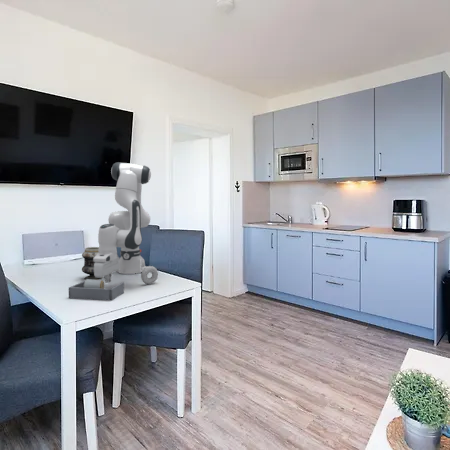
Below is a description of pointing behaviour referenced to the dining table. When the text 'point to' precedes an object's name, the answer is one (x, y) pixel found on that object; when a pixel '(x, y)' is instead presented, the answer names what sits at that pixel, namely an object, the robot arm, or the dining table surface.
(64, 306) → the dining table surface
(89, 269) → the apothecary jar
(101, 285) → the ceramic mug
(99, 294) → the box
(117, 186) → the robot arm
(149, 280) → the donut
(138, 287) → the dining table surface
